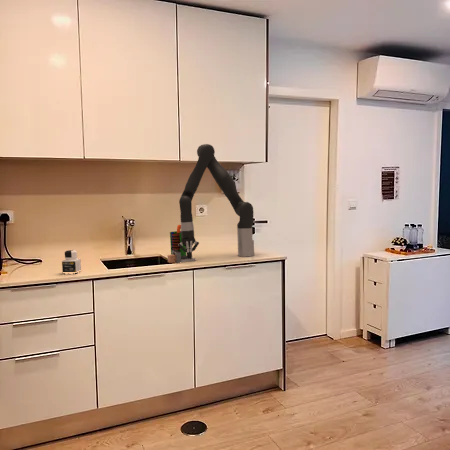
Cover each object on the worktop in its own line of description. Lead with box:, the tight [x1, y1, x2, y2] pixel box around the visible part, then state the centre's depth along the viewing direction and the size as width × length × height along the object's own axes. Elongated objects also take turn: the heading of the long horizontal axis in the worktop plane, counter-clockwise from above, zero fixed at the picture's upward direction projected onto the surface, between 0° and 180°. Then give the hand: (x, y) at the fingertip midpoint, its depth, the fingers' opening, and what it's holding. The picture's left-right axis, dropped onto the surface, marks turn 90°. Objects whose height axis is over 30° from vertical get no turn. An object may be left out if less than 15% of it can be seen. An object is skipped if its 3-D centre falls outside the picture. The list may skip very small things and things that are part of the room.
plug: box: [167, 254, 187, 264], centre depth 245 cm, size 11×4×4 cm, turn 110°
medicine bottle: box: [61, 249, 82, 273], centre depth 218 cm, size 7×7×12 cm
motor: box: [169, 224, 187, 256], centre depth 262 cm, size 10×9×20 cm
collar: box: [172, 250, 196, 264], centre depth 246 cm, size 12×12×6 cm
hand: (189, 258), depth 247 cm, fingers closed
